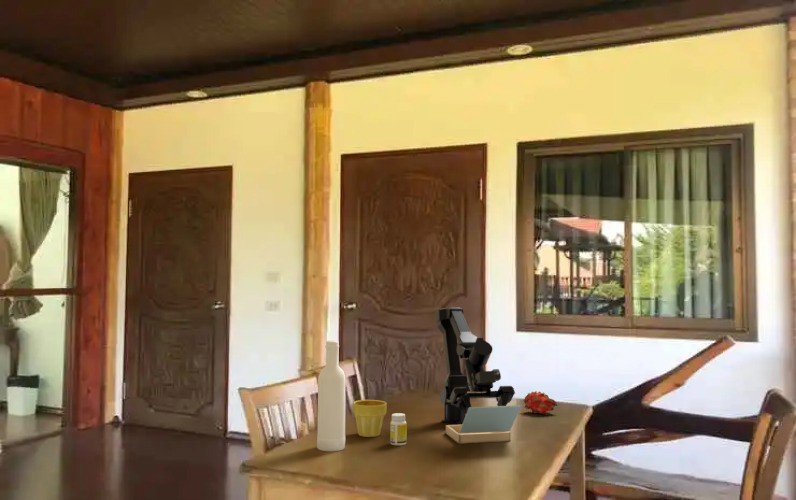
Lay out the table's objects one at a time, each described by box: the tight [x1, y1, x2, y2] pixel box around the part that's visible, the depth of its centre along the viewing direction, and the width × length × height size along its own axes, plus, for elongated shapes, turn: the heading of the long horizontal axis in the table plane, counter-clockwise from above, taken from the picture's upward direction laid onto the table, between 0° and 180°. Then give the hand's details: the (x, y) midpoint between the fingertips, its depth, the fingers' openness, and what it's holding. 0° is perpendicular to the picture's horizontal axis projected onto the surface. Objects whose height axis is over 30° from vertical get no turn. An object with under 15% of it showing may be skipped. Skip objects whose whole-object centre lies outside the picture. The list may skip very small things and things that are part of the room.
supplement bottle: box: [389, 412, 408, 446], centre depth 190 cm, size 5×5×8 cm
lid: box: [459, 404, 522, 434], centre depth 189 cm, size 12×16×1 cm
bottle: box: [316, 340, 347, 452], centre depth 185 cm, size 8×8×30 cm
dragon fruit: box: [522, 390, 558, 416], centre depth 236 cm, size 8×8×12 cm
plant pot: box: [352, 399, 388, 438], centre depth 202 cm, size 10×10×10 cm
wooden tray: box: [445, 424, 511, 445], centre depth 199 cm, size 13×16×2 cm
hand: (489, 420), depth 189 cm, fingers open, 9 cm apart
